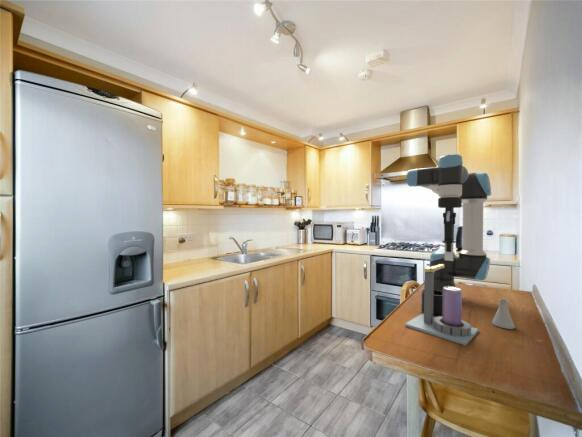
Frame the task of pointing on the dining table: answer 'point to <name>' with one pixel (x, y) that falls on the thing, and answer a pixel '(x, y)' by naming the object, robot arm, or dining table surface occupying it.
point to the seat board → (433, 331)
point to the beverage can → (452, 306)
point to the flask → (503, 316)
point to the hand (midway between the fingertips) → (448, 260)
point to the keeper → (434, 268)
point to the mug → (435, 303)
